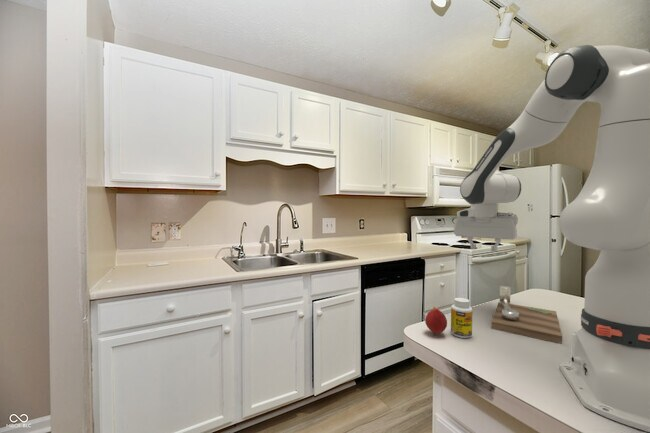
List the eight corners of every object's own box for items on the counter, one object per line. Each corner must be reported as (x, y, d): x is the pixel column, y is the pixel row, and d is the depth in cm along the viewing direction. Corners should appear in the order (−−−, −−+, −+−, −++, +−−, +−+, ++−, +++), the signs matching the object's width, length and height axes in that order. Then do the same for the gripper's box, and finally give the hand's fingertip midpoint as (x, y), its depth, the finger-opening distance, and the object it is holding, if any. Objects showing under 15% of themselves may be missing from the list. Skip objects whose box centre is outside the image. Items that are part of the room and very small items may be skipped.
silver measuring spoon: (520, 320, 85) (520, 300, 85) (502, 318, 87) (503, 298, 87) (511, 304, 100) (511, 286, 100) (497, 302, 102) (497, 285, 102)
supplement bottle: (453, 338, 80) (453, 302, 80) (448, 329, 85) (449, 296, 85) (474, 339, 79) (475, 303, 78) (468, 331, 84) (469, 297, 84)
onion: (443, 330, 85) (443, 303, 85) (449, 339, 79) (450, 310, 79) (423, 329, 85) (423, 303, 85) (428, 338, 80) (428, 310, 79)
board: (561, 343, 76) (561, 335, 76) (491, 328, 86) (491, 321, 86) (555, 317, 95) (556, 310, 95) (498, 307, 105) (498, 301, 105)
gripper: (519, 212, 99) (519, 252, 99) (458, 212, 113) (458, 246, 114) (515, 212, 95) (514, 254, 95) (452, 212, 109) (452, 248, 109)
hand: (483, 250), depth 105 cm, fingers open, 5 cm apart
